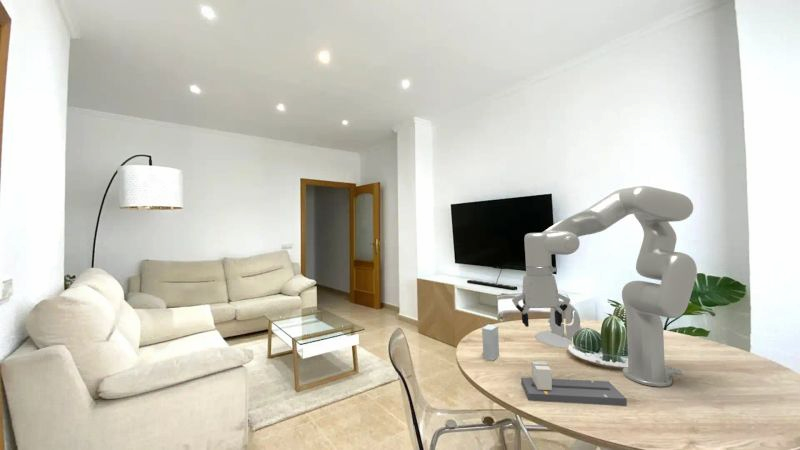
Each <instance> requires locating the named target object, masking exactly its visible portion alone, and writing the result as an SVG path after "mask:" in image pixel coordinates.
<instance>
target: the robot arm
mask: <svg viewBox="0 0 800 450" xmlns="http://www.w3.org/2000/svg"><path fill="white" fill-rule="evenodd" d="M693 211H694V203H693V201H692V200H691V198H689V196H687V195H685V194H682V193H680V192H675V191H671V190H667V189H662V188H657V187H653V186H647V185H641V186H640V185H639V186H633V187H626V188H620V189H617V190H615V191H613V192H611V193H610V194H609V195H607V196H605V197H603V198H602V199H601V200H599V201H597V202H596V203H594V204H592V205H591V206H590V207H587V208H585V209H584V210H582V211H580V212H579V211H578V213H575V214H573V215H571V216H568V217H566V218H564V219H562V220H560V221H558V222H556V223H554V224H553V225H551V226H549V227H548V228H547V229H545V230H544V231H542V232H529V233H526V234H525V235H524V240H523V241H524V252H525V253H524V254H525V255H524V256H525V270H526V271H525V272H526V273H525V274H524V275H523V278H522V289H521V290H522V292H521V294H519V295H517V296H516V297H514V298H512V299H511V301H512V303H513V305H514V306H515V308H516V309H517V310H518V311H519V312H520V313H521V321H522V324H523V325H524V326H525V327H527V328H528V327H529V323H530V322H529V315H528V312H529V311H530V309H551V308H555V324H556V325H558V326H561V323H562V313H563V314H564V311H566V310H567V309H566V308H567V306H568V304H569V303H571V298H569V297H567V296H564V295H563V294H562V293H561V294H560V293H559V290H558V284H557V281H556V277H555V275H554V273H555V272H557V271H558V269H557V267H556V266H553V265H552V255H560V256H562V255H563V256H567V255H571V254H573V253H576V251H578V249H579V247H580V245H581V243H580V239H579V237H583V236H588V235H589V236H590V235H594V234H597V233H601V232H603V231H606V230H607V229H608V228H610V227H612V226H613V225H615V224H616V223H618V222H619V221H621V220H622V219H624V218H626V217H627V216H629V215H633V216H634V217H635V219H636V220H637V221H638V222H639V224H640V226H641V228H642V230H643V239H642V242H641V245H640V246H641V247H640V250H639V253H638V257H637V259H636V264H635V270H636V273H638V274H639V276H642V277H643V278H646V279H650V280H656V281H660V283H657V282H656V283H655V282H651V281H645V280H632V281H629V282H627V283H626V284H625V285H624V286H623V288H622V289H621V290H622V291H621V298H622V302H623V306H624V310H625V319H626V342H627V343H626V344H627V345H626V346H627V366H628V367H627V366H625V367H624V368H622V373H623V375H624V376H625V377H626V378H627V379H629V380H631V381H633V382H635V383H638V384H641V385H645V386H649V387H659V388H660V387H661V388H664V387H668V386H671V385H672V381H673V380H672V378H671V376H672V375H673V376H683V373H684V372H683V370H682V369H681V368H673V366H671V365H666V364H665V342H664V341H665V340H664V325H663V321H662V318H661V317H663V318H667V319H675V318H676V319H677V318H679V317H681V316H682V315H683V314H685V312H686V310H687V308H688V306H689V302H690V299H691V296H692V293H693V290H694V286H695V283H696V280H697V274H698V269H697V264H696V262H695V260H694V258H692V256H691V255H688V254H687V253H684V252H680V251H679V252H678V251H676V245H677V233H676V231H675V229H674V228H673V226H672V224H670V222H682V221H684V220H687V219H688V218H689V217H691V216H692V214H693ZM560 300H561V301H563V303H562V304H561V305H560V306H559V301H560ZM520 301H522V304H523V305H522V306H521V305H520V304H519V302H520ZM562 324H563V323H562Z"/></svg>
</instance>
